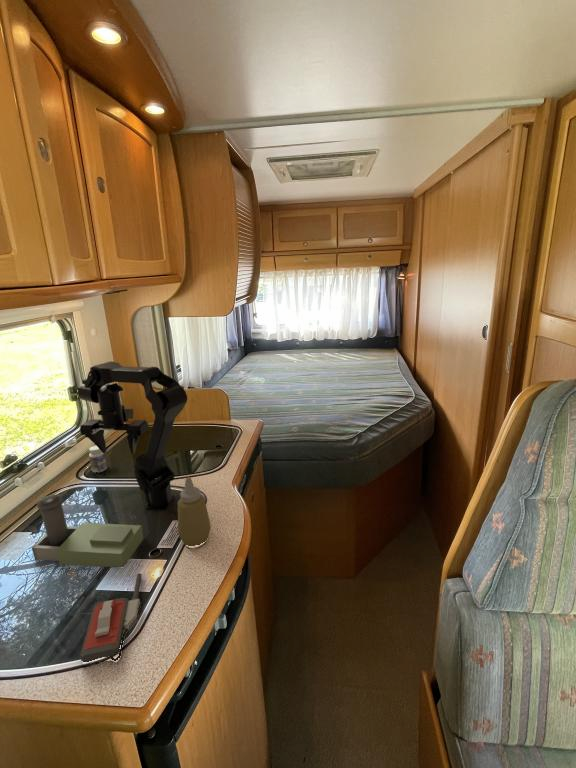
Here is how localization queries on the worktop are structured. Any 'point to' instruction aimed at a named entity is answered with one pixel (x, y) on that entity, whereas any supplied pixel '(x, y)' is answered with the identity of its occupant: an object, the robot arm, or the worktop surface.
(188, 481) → the squeeze bottle
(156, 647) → the worktop surface
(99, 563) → the green stepped slab
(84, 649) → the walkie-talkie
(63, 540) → the grey domed pawn
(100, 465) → the pill bottle
